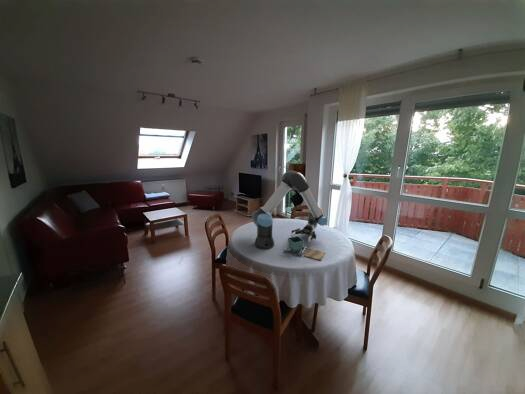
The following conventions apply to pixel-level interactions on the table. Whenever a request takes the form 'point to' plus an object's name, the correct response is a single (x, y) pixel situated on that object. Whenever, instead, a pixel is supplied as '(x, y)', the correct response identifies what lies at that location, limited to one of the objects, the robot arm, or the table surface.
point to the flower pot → (295, 243)
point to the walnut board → (314, 254)
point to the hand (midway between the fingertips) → (300, 238)
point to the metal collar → (295, 252)
